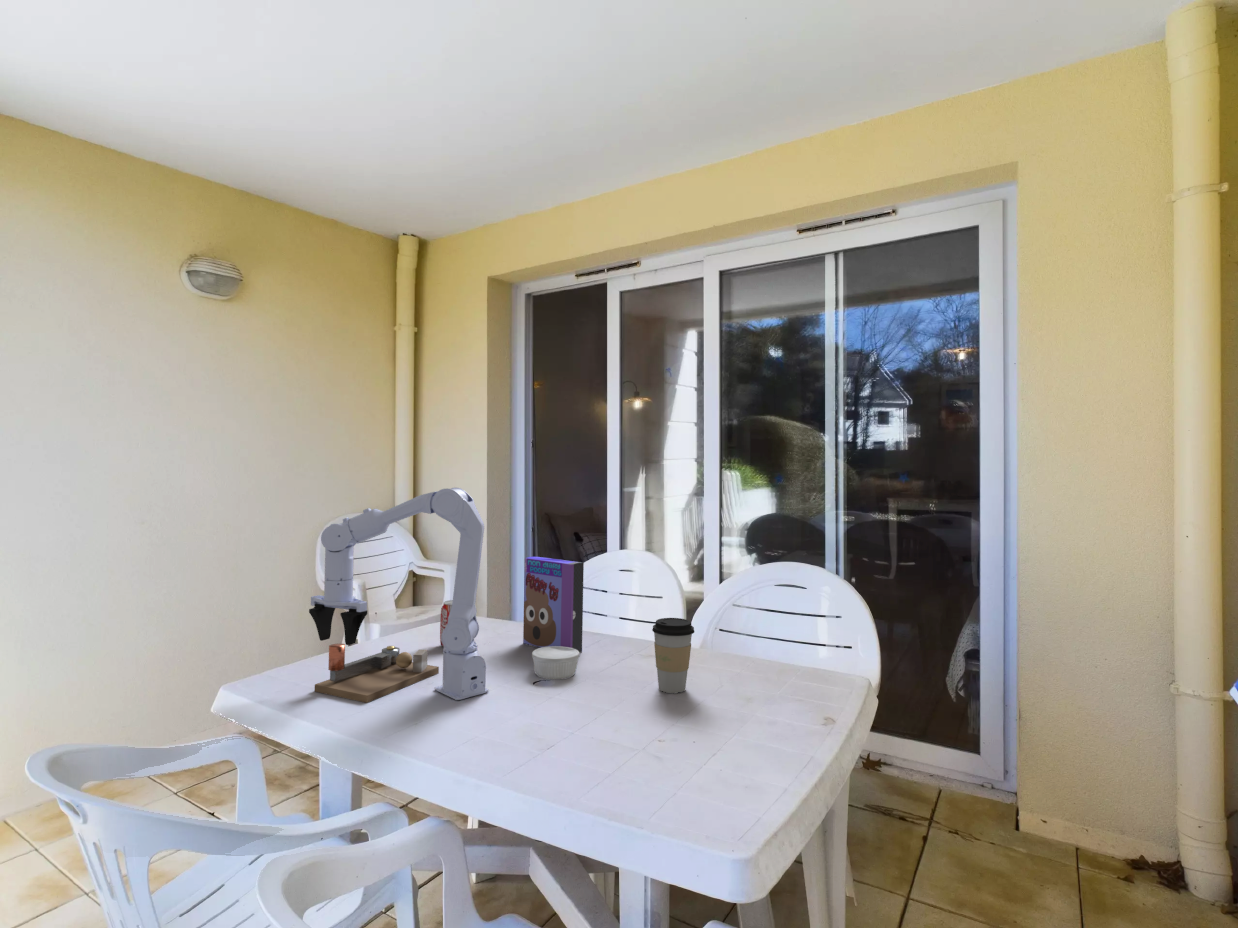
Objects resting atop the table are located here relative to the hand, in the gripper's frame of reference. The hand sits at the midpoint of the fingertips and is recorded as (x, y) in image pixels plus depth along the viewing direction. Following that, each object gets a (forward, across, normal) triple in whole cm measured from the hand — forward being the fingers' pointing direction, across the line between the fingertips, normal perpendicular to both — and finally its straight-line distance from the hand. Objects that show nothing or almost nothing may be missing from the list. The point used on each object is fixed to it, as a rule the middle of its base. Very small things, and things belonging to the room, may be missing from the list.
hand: (337, 641), depth 139 cm
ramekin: (+11, -36, -31) cm, 49 cm away
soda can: (+11, 0, -39) cm, 41 cm away
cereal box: (+11, -24, -51) cm, 57 cm away
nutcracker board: (+10, -4, -8) cm, 14 cm away
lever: (+9, 0, -8) cm, 12 cm away
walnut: (+9, -6, -14) cm, 17 cm away
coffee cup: (+11, -65, -34) cm, 74 cm away
